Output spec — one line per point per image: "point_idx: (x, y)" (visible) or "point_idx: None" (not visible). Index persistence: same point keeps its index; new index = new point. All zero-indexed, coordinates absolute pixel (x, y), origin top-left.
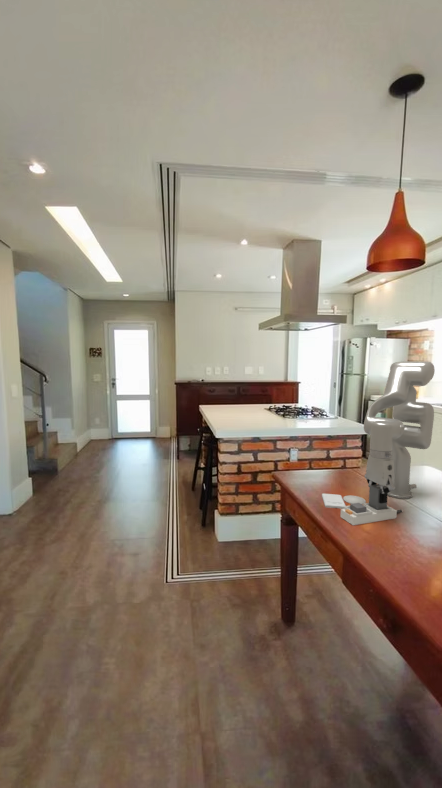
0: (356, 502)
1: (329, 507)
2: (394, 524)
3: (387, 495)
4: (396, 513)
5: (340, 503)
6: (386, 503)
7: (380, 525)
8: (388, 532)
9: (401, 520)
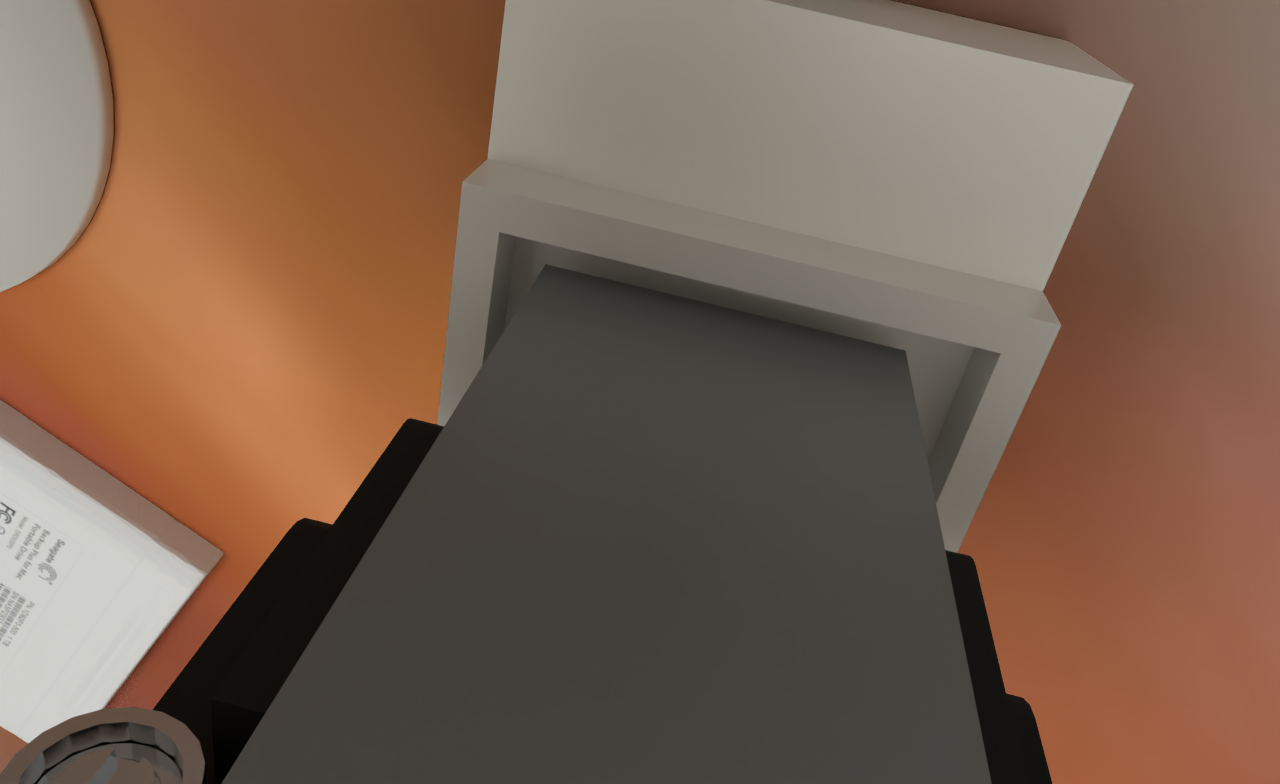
0: (8, 159)
1: (104, 707)
2: (1182, 400)
3: (1022, 765)
4: (1101, 68)
5: (37, 545)
6: (911, 454)
7: (997, 639)
8: (1228, 749)
9: (1230, 45)
